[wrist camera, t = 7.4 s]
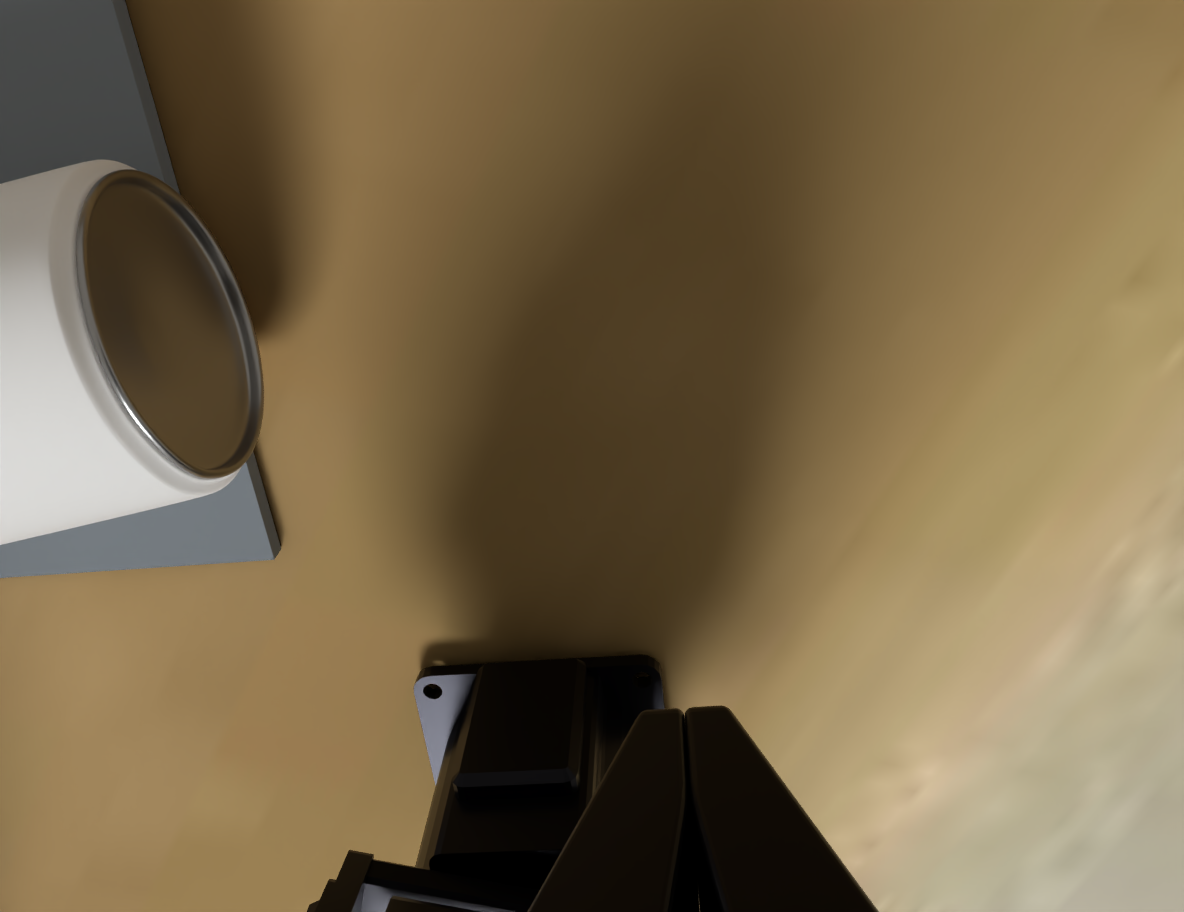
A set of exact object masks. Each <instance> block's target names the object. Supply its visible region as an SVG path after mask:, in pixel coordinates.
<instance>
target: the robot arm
mask: <svg viewBox="0 0 1184 912" xmlns="http://www.w3.org/2000/svg"><path fill="white" fill-rule="evenodd" d="M640 672H644V673H647V674H649V676H648V677H645V678H638V677H636V676H635V674H636V673H640ZM428 684H436V685H438V686H439V687H440V689H432V688H431V687H429V686H428ZM414 695H415V699H416V703H417V707H418V712H419V716H420V720H421V725H422V729H423V733H424V738H425V742H426V746H427V751H428V755H429V759H430V764H431V768H432V772H433V776H434V781H435V785H436V787H435V791H434V795H433V799H432V803H431V807H430V811H429V815H428V818H427V822H426V826H425V830H424V834H423V838H422V842H421V846H420V850H419V854H418V858H417V861H416V865H415V867H413V866H407V865H402V864H396V863H391V862H385V861H380V860H375V859H373V858H374V854H369V853H363V852H358V851H352V850H349V852H348V854H347V856H346V858H345V861H344V863H343V865H342V868H341V870H340V872H339V875H338V877H337V879H336V880H333V879H329V881H328V883H327V885H326V887H325V889H324V892H323V894H322V896H321V898H320V900H319V901H316V902H314V903H312V904H310V905H309V907H308V910H307V912H879V911H878V910H877V909H876V907H875V906H874V905H873V903H872V902H871V901H870V899H869V898H868V896H867V895H866V894H865V892H864V891H863V890H862V888H861V887H860V886H859V884H858V883H857V881H856V880H855V879H854V877H853V876H852V875H851V873H850V872H849V871H848V869H847V868H846V866H845V865H844V864H843V862H842V861H841V860H840V858H839V857H838V856H837V854H836V853H835V852H834V850H833V849H832V847H831V846H830V845H829V843H828V842H827V841H826V839H825V838H824V837H823V835H822V834H821V832H820V831H819V830H818V828H817V827H816V826H815V824H814V823H813V822H812V820H811V819H810V817H809V816H808V815H807V813H806V812H805V811H804V809H803V808H802V807H801V805H800V804H799V803H798V801H797V800H796V798H795V797H794V796H793V794H792V793H791V792H790V790H789V789H788V788H787V786H786V785H785V783H784V782H783V781H782V779H781V778H780V777H779V775H778V774H777V773H776V771H775V770H774V768H773V767H772V766H771V764H770V763H769V762H768V760H767V759H766V758H765V756H764V755H763V754H762V752H761V751H760V749H759V748H758V747H757V745H756V744H755V743H754V741H753V740H752V739H751V737H750V736H749V734H748V733H747V732H746V730H745V729H744V728H743V726H742V725H741V724H740V722H739V721H738V719H737V718H736V717H735V715H734V714H733V713H732V712H731V710H730V709H729V708H727V707H725V706H707V707H692V708H689V709H687V710H686V712H685V718H684V713H683V712H682V711H681V710H680V709H677V708H672V709H665V707H664V696H663V684H662V673H661V667H660V664H659V663H658V662H657V661H656V660H655V659H654V658H652V657H650V656H647V655H628V656H610V657H593V658H569V659H551V660H533V661H516V662H498V663H486V664H468V665H450V666H432V667H428V668H425V669H423V670H422V671H420V673H419V675H418V676H417V679H416V682H415V685H414ZM698 894H699V895H698ZM699 905H700V908H699Z"/></svg>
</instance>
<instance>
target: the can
mask: <svg viewBox="0 0 1184 912" xmlns="http://www.w3.org/2000/svg"><path fill="white" fill-rule="evenodd" d="M263 407H264V385H263V373H262V364H261V358H260V352H259V347H258V342H257V338H256V334H255V330H254V326H253V323H252V319H251V316H250V313H249V310H248V307H247V304H246V301H245V298H244V296H243V293H242V290H241V288H240V286H239V283H238V281H237V279H236V276H235V274H234V272H233V270H232V268H231V266H230V264H229V262H228V260H227V258H226V256H225V254H224V252H223V251H222V249H221V247H220V245H219V244H218V242H217V241H216V239H215V237H214V236H213V234H212V233H211V231H210V230H209V228H208V227H207V225H206V224H205V223H204V221H203V220H202V219H201V217H200V216H199V215H198V214H197V213H196V211H195V210H194V209H193V208H192V207H191V206H190V204H189V203H188V202H187V201H186V200H185V199H184V198H183V197H182V196H181V195H179V194H178V193H177V192H176V191H175V190H174V189H173V188H171V187H170V186H169V185H167V184H166V183H164V182H163V181H161V180H160V179H158V178H156V177H154V176H152V175H150V174H148V173H145V172H142V171H138V170H136V169H134V168H132V167H130V166H128V165H126V164H123V163H120V162H117V161H112V160H93V161H87V162H82V163H78V164H74V165H70V166H66V167H62V168H58V169H54V170H50V171H47V172H43V173H39V174H35V175H32V176H28V177H24V178H20V179H17V180H13V181H9V182H5V183H2V184H0V545H2V544H7V543H11V542H15V541H20V540H24V539H28V538H32V537H37V536H41V535H45V534H50V533H54V532H58V531H62V530H67V529H71V528H75V527H79V526H84V525H88V524H92V523H96V522H100V521H105V520H109V519H113V518H117V517H122V516H126V515H130V514H134V513H138V512H142V511H147V510H151V509H155V508H159V507H163V506H167V505H171V504H175V503H179V502H183V501H187V500H191V499H195V498H199V497H202V496H206V495H209V494H212V493H215V492H217V491H219V490H221V489H223V488H224V487H225V486H227V485H228V484H229V483H230V482H231V481H232V480H233V479H234V477H235V476H236V475H237V473H238V472H239V470H240V469H241V467H242V466H243V465H244V463H245V462H246V461H247V460H248V458H249V457H250V455H251V454H252V452H253V450H254V448H255V446H256V443H257V440H258V437H259V434H260V429H261V424H262V418H263Z"/></svg>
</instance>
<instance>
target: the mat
mask: <svg viewBox="0 0 1184 912" xmlns="http://www.w3.org/2000/svg"><path fill="white" fill-rule="evenodd" d="M93 160H112V161H117V162H120V163H123V164H126V165H128V166H130V167H132V168H134V169H136V170H138V171H142V172H145V173H148V174H150V175H152V176H154V177H156V178H158V179H160V180H161V181H163V182H164V183H166V184H167V185H169V186H170V187H171V188H173V189H174V190H175V191H176V192H177V193H178V194H179V195H180V192H179V189H178V185H177V182H176V178H175V175H174V171H173V168H172V164H171V161H170V157H169V154H168V150H167V147H166V143H165V140H164V136H163V133H162V129H161V126H160V122H159V118H158V115H157V111H156V108H155V104H154V101H153V97H152V94H151V90H150V87H149V83H148V80H147V76H146V73H145V69H144V66H143V62H142V59H141V55H140V52H139V48H138V45H137V41H136V38H135V34H134V31H133V27H132V24H131V20H130V17H129V13H128V10H127V6H126V3H125V0H0V184H2V183H5V182H9V181H13V180H17V179H20V178H24V177H28V176H32V175H35V174H39V173H43V172H47V171H50V170H54V169H58V168H62V167H66V166H70V165H74V164H78V163H82V162H87V161H93ZM280 550H281V547H280V543H279V540H278V536H277V533H276V529H275V526H274V522H273V519H272V515H271V512H270V508H269V505H268V501H267V498H266V494H265V491H264V487H263V484H262V480H261V477H260V473H259V469H258V466H257V462H256V459H255V455H254V452H252V454H251V455H250V457H249V458H248V460H247V461H246V462H245V463H244V465H243V466H242V467H241V469H240V470H239V472H238V473H237V475H236V476H235V477H234V479H233V480H232V481H231V482H230V483H229V484H228V485H227V486H225V487H224V488H223V489H221V490H219V491H217V492H215V493H212V494H209V495H206V496H202V497H199V498H195V499H191V500H187V501H183V502H179V503H175V504H171V505H167V506H163V507H159V508H155V509H151V510H147V511H142V512H138V513H134V514H130V515H126V516H122V517H117V518H113V519H109V520H105V521H100V522H96V523H92V524H88V525H84V526H79V527H75V528H71V529H67V530H62V531H58V532H54V533H50V534H45V535H41V536H37V537H32V538H28V539H24V540H20V541H15V542H11V543H7V544H2V545H0V578H6V577H21V576H36V575H51V574H66V573H81V572H96V571H111V570H126V569H141V568H156V567H171V566H186V565H201V564H216V563H231V562H246V561H261V560H274V559H275V558H276V556H277V555H278V553H279V552H280Z"/></svg>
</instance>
